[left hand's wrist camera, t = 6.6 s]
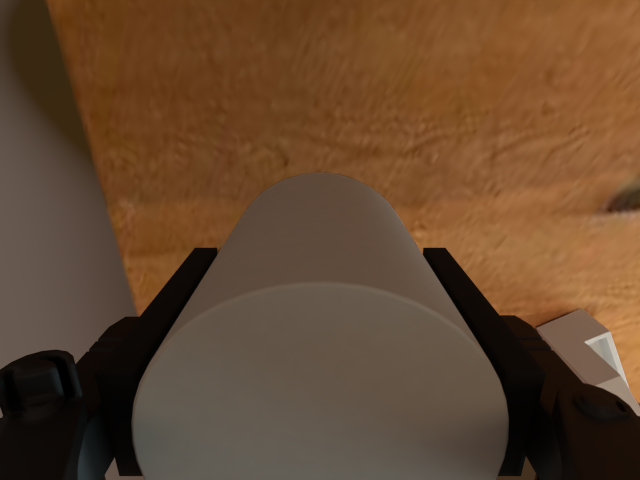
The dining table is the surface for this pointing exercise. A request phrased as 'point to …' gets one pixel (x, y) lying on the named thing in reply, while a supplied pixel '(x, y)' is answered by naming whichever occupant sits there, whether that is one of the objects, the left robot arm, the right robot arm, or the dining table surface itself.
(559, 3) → the dining table surface
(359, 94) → the dining table surface
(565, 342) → the white angled block
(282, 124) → the dining table surface
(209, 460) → the gray cylinder
